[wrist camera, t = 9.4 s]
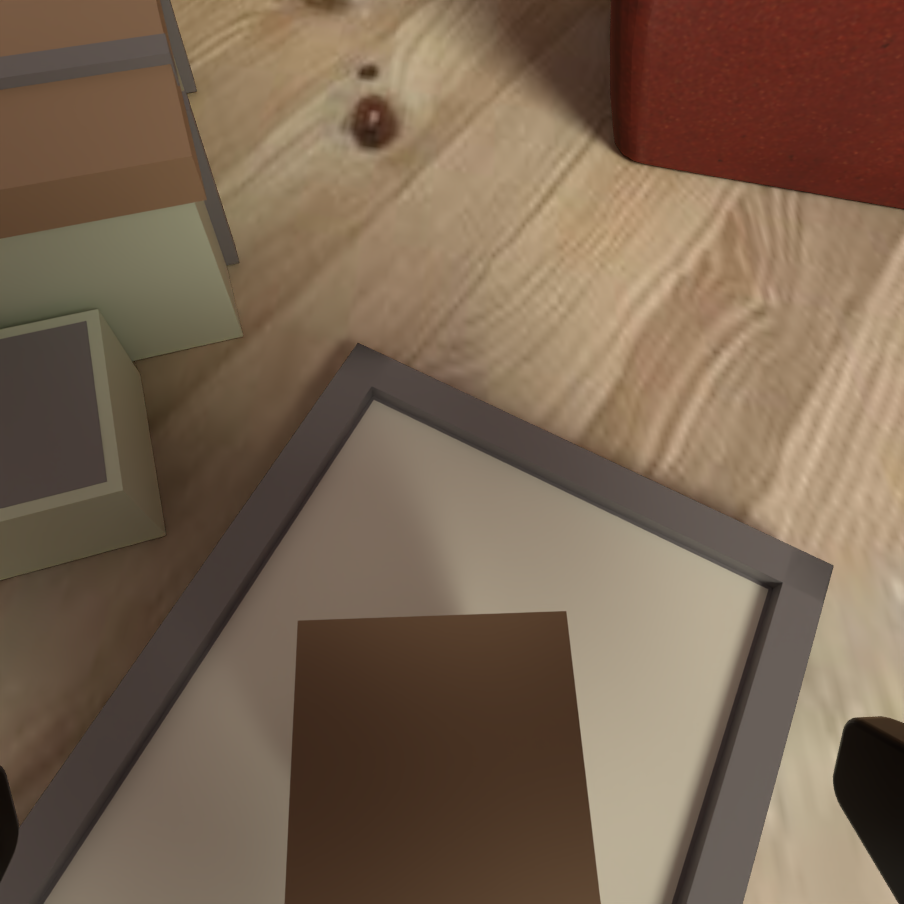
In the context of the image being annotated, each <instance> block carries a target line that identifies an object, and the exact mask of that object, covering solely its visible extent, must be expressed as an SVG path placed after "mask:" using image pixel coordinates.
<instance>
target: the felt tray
mask: <svg viewBox="0 0 904 904" xmlns="http://www.w3.org/2000/svg"><path fill="white" fill-rule="evenodd" d="M832 570H833V565H831V564H829V563H827V562H825V561H823V560H821V559H818V558H816V557H814V556H812V555H810V554H808V553H806V552H804V551H801V550H799V549H797V548H795V547H793V546H791V545H789V544H786V543H784V542H782V541H780V540H778V539H776V538H774V537H772V536H769V535H767V534H765V533H763V532H761V531H759V530H757V529H754V528H752V527H750V526H748V525H746V524H744V523H742V522H739V521H737V520H735V519H733V518H731V517H729V516H727V515H725V514H722V513H720V512H718V511H716V510H714V509H712V508H710V507H707V506H705V505H703V504H701V503H699V502H697V501H695V500H693V499H690V498H688V497H686V496H684V495H682V494H680V493H678V492H675V491H673V490H671V489H669V488H667V487H665V486H663V485H661V484H658V483H656V482H654V481H652V480H650V479H648V478H646V477H643V476H641V475H639V474H637V473H635V472H633V471H631V470H628V469H626V468H624V467H622V466H620V465H618V464H616V463H614V462H611V461H609V460H607V459H605V458H603V457H601V456H599V455H596V454H594V453H592V452H590V451H588V450H586V449H584V448H582V447H579V446H577V445H575V444H573V443H571V442H569V441H567V440H564V439H562V438H560V437H558V436H556V435H554V434H552V433H549V432H547V431H545V430H543V429H541V428H539V427H537V426H535V425H532V424H530V423H528V422H526V421H524V420H522V419H520V418H517V417H515V416H513V415H511V414H509V413H507V412H505V411H503V410H500V409H498V408H496V407H494V406H492V405H490V404H488V403H485V402H483V401H481V400H479V399H477V398H475V397H473V396H471V395H468V394H466V393H464V392H462V391H460V390H458V389H456V388H453V387H451V386H449V385H447V384H445V383H443V382H441V381H438V380H436V379H434V378H432V377H430V376H428V375H426V374H424V373H421V372H419V371H417V370H415V369H413V368H411V367H409V366H406V365H404V364H402V363H400V362H398V361H396V360H394V359H392V358H389V357H387V356H385V355H383V354H381V353H379V352H377V351H374V350H372V349H370V348H368V347H366V346H364V345H362V344H359V343H357V345H356V346H355V348H354V349H353V350H352V352H351V353H350V355H349V356H348V358H347V359H346V360H345V362H344V363H343V365H342V366H341V368H340V369H339V370H338V372H337V373H336V375H335V376H334V378H333V379H332V380H331V382H330V383H329V385H328V386H327V388H326V389H325V391H324V392H323V393H322V395H321V396H320V398H319V399H318V401H317V402H316V403H315V405H314V406H313V408H312V409H311V411H310V412H309V413H308V415H307V416H306V418H305V419H304V421H303V422H302V423H301V425H300V426H299V428H298V429H297V431H296V432H295V433H294V435H293V436H292V438H291V439H290V441H289V442H288V443H287V445H286V446H285V448H284V449H283V451H282V452H281V454H280V455H279V456H278V458H277V459H276V461H275V462H274V464H273V465H272V466H271V468H270V469H269V471H268V472H267V474H266V475H265V476H264V478H263V479H262V481H261V482H260V484H259V485H258V486H257V488H256V489H255V491H254V492H253V494H252V495H251V496H250V498H249V499H248V501H247V502H246V504H245V505H244V506H243V508H242V509H241V511H240V512H239V514H238V515H237V517H236V518H235V519H234V521H233V522H232V524H231V525H230V527H229V528H228V529H227V531H226V532H225V534H224V535H223V537H222V538H221V539H220V541H219V542H218V544H217V545H216V547H215V548H214V549H213V551H212V552H211V554H210V555H209V557H208V558H207V559H206V561H205V562H204V564H203V565H202V567H201V568H200V569H199V571H198V572H197V574H196V575H195V577H194V578H193V580H192V581H191V582H190V584H189V585H188V587H187V588H186V590H185V591H184V592H183V594H182V595H181V597H180V598H179V600H178V601H177V602H176V604H175V605H174V607H173V608H172V610H171V611H170V612H169V614H168V615H167V617H166V618H165V620H164V621H163V622H162V624H161V625H160V627H159V628H158V630H157V631H156V633H155V634H154V635H153V637H152V638H151V640H150V641H149V643H148V644H147V645H146V647H145V648H144V650H143V651H142V653H141V654H140V655H139V657H138V658H137V660H136V661H135V663H134V664H133V665H132V667H131V668H130V670H129V671H128V673H127V674H126V675H125V677H124V678H123V680H122V681H121V683H120V684H119V685H118V687H117V688H116V690H115V691H114V693H113V694H112V696H111V697H110V698H109V700H108V701H107V703H106V704H105V706H104V707H103V708H102V710H101V711H100V713H99V714H98V716H97V717H96V718H95V720H94V721H93V723H92V724H91V726H90V727H89V728H88V730H87V731H86V733H85V734H84V736H83V737H82V738H81V740H80V741H79V743H78V744H77V746H76V747H75V748H74V750H73V751H72V753H71V754H70V756H69V757H68V759H67V760H66V761H65V763H64V764H63V766H62V767H61V769H60V770H59V771H58V773H57V774H56V776H55V777H54V779H53V780H52V781H51V783H50V784H49V786H48V787H47V789H46V790H45V791H44V793H43V794H42V796H41V797H40V799H39V800H38V801H37V803H36V804H35V806H34V807H33V809H32V810H31V812H30V813H29V814H28V816H27V817H26V819H25V820H24V822H23V823H22V824H21V826H20V827H19V837H18V843H17V847H16V850H15V853H14V855H13V858H12V860H11V862H10V864H9V866H8V869H7V871H6V873H5V875H4V877H3V879H2V881H1V883H0V904H285V882H286V861H287V839H288V818H289V797H290V775H291V754H292V732H293V711H294V690H295V668H296V647H297V625H298V621H299V620H327V619H355V618H384V617H412V616H440V615H468V614H496V613H524V612H552V611H566V613H567V621H568V630H569V638H570V646H571V655H572V663H573V672H574V680H575V689H576V697H577V706H578V714H579V723H580V731H581V740H582V748H583V757H584V765H585V773H586V782H587V790H588V799H589V807H590V816H591V824H592V833H593V841H594V850H595V858H596V867H597V875H598V884H599V892H600V901H601V904H743V900H744V897H745V893H746V889H747V886H748V882H749V878H750V874H751V871H752V867H753V863H754V860H755V856H756V852H757V848H758V845H759V841H760V837H761V834H762V830H763V826H764V822H765V819H766V815H767V811H768V808H769V804H770V800H771V796H772V793H773V789H774V785H775V782H776V778H777V774H778V770H779V767H780V763H781V759H782V756H783V752H784V748H785V744H786V741H787V737H788V733H789V730H790V726H791V722H792V718H793V715H794V711H795V707H796V704H797V700H798V696H799V692H800V689H801V685H802V681H803V678H804V674H805V670H806V666H807V663H808V659H809V655H810V652H811V648H812V644H813V640H814V637H815V633H816V629H817V626H818V622H819V618H820V614H821V611H822V607H823V603H824V600H825V596H826V592H827V589H828V585H829V581H830V577H831V574H832Z"/></svg>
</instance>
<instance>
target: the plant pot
mask: <svg viewBox="0 0 904 904" xmlns="http://www.w3.org/2000/svg"><path fill="white" fill-rule="evenodd" d="M610 95H611V108H612V122H613V132H614V139H615V144H616V145H617V147H618V148H619V150H620V151H621V152H622V154H623V155H625V156H627V157H628V158H630V159H632V160H633V161H636V162H640V163H644V164H649V165H654V166H660V167H665V168H670V169H676V170H682V171H689V172H693V173H698V174H704V175H710V176H716V177H722V178H728V179H734V180H740V181H746V182H752V183H757V184H763V185H769V186H775V187H781V188H787V189H793V190H799V191H805V192H811V193H816V194H822V195H827V196H832V197H838V198H843V199H849V200H855V201H861V202H867V203H873V204H879V205H884V206H890V207H896V208H901V209H904V0H611V24H610Z"/></svg>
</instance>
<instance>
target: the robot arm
mask: <svg viewBox="0 0 904 904" xmlns="http://www.w3.org/2000/svg"><path fill="white" fill-rule="evenodd" d="M833 786H834V791H835V795H836V797H837V800H838V802H839V804H840V806H841V808H842V810H843V811H844V813H845V815H846V816H847V818H848V820H849V821H850V823H851V825H852V826H853V828H854V830H855V831H856V833H857V835H858V836H859V838H860V840H861V841H862V843H863V845H864V846H865V848H866V850H867V851H868V853H869V855H870V856H871V858H872V860H873V861H874V863H875V865H876V866H877V868H878V870H879V871H880V873H881V875H882V876H883V878H884V880H885V882H886V883H887V885H888V887H889V888H890V890H891V892H892V893H893V895H894V897H895V898H896V900H897V902H898V903H899V904H904V723H902V722H900V721H897V720H894V719H891V718H887V717H882V716H878V717H859V718H852V719H851V720H849V721H848V722H847V723H846V724H845V726H844V729H843V733H842V738H841V742H840V747H839V751H838V755H837V760H836V764H835V769H834V774H833ZM18 837H19V824H18V818H17V815H16V811H15V807H14V803H13V799H12V795H11V791H10V787H9V783H8V779H7V775H6V773H5V770H4V769H3V767H2V766H0V883H1V881H2V879H3V877H4V875H5V873H6V871H7V869H8V866H9V864H10V862H11V860H12V858H13V855H14V853H15V850H16V847H17V843H18Z"/></svg>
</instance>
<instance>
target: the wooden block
mask: <svg viewBox="0 0 904 904" xmlns="http://www.w3.org/2000/svg"><path fill="white" fill-rule="evenodd" d="M285 904H601V901H600V892H599V884H598V875H597V867H596V858H595V850H594V841H593V833H592V824H591V816H590V807H589V799H588V790H587V782H586V773H585V765H584V757H583V748H582V740H581V731H580V723H579V714H578V706H577V697H576V689H575V680H574V672H573V663H572V655H571V646H570V638H569V630H568V621H567V613H566V611H552V612H524V613H496V614H468V615H440V616H412V617H384V618H355V619H327V620H299V621H298V625H297V647H296V668H295V690H294V711H293V732H292V754H291V775H290V797H289V818H288V839H287V861H286V882H285Z"/></svg>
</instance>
